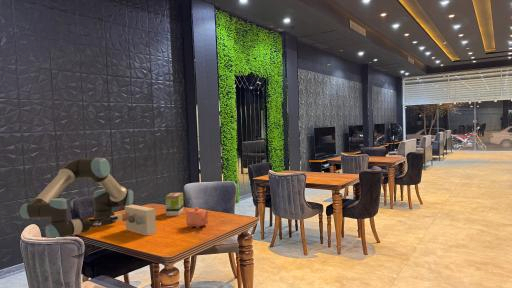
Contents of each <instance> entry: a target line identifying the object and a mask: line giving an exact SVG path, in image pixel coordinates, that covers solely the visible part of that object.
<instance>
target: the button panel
mask: <svg viewBox="0 0 512 288" xmlns="http://www.w3.org/2000/svg"><path fill="white" fill-rule="evenodd" d="M124 214H127V216H128V218H129V216H131V215H133V216H134V217H135V222H133V223H130V222H129V220H127V221H124V222H125V230H126V231H130V232H133V233H137V234H140V235H143V236H146V237H147V236H150V235H154V234H157V225H156V224H157V223H156V208H152V207H149V206H148V207H147V206H142V205H138V204H132V205H129V206H125V207H124ZM137 217H141V218H142V224H140V225H137V224H136V218H137Z"/></svg>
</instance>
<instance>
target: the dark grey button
mask: <svg viewBox="0 0 512 288" xmlns="http://www.w3.org/2000/svg"><path fill="white" fill-rule="evenodd" d="M136 224H137V225H140V224H142V218H141V217H137V218H136Z"/></svg>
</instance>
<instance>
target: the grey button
mask: <svg viewBox="0 0 512 288" xmlns="http://www.w3.org/2000/svg"><path fill="white" fill-rule="evenodd" d="M128 220H129V222H130V223H133V222H135V217H134V216H133V215H131V216H129V218H128Z"/></svg>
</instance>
